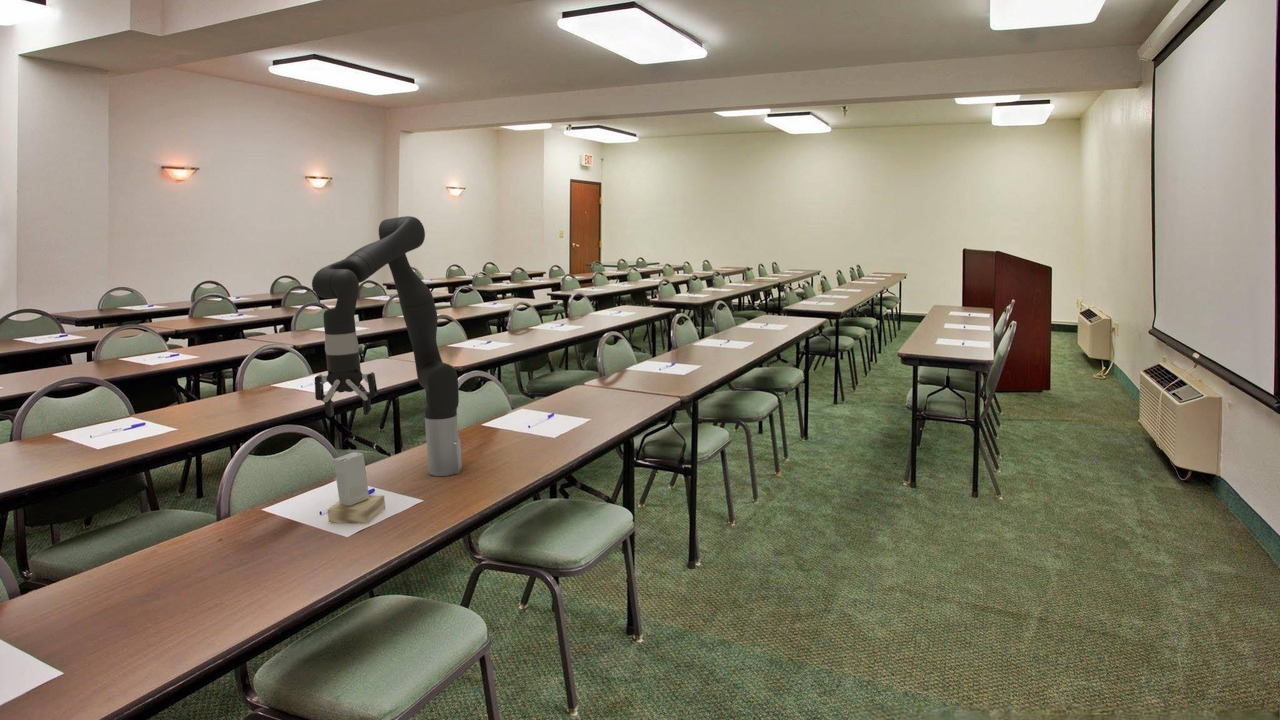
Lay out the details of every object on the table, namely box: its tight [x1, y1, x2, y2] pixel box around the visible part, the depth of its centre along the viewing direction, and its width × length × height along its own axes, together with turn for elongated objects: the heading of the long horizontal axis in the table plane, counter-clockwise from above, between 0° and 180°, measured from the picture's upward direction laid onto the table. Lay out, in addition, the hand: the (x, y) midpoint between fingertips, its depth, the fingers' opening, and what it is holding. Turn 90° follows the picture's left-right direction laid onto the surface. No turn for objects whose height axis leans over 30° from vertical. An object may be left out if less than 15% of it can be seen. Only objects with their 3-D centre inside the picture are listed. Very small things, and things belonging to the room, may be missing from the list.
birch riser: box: [326, 494, 386, 525], centre depth 186 cm, size 10×10×4 cm
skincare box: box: [333, 451, 370, 506], centre depth 184 cm, size 6×4×12 cm
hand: (348, 415), depth 182 cm, fingers open, 8 cm apart
